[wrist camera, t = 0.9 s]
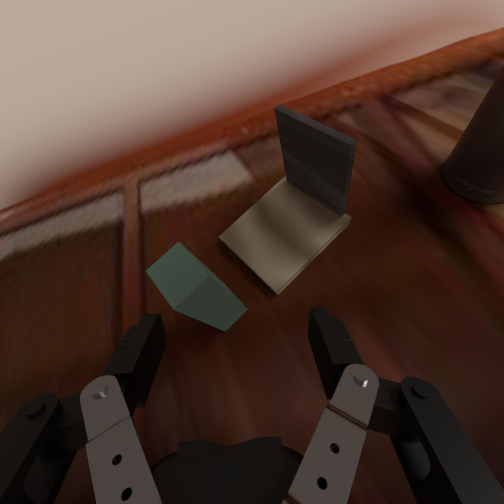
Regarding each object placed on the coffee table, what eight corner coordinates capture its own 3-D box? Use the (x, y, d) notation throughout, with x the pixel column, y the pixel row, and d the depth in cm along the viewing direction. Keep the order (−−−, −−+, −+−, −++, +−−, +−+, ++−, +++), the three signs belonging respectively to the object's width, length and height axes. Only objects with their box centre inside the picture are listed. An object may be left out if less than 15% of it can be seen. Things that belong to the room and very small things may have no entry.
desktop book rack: (287, 181, 40) (273, 101, 28) (350, 223, 34) (366, 144, 22) (222, 241, 38) (178, 182, 26) (277, 295, 32) (253, 251, 21)
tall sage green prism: (223, 283, 35) (177, 240, 24) (248, 309, 33) (209, 275, 21) (202, 303, 34) (144, 269, 23) (225, 331, 32) (173, 309, 21)
